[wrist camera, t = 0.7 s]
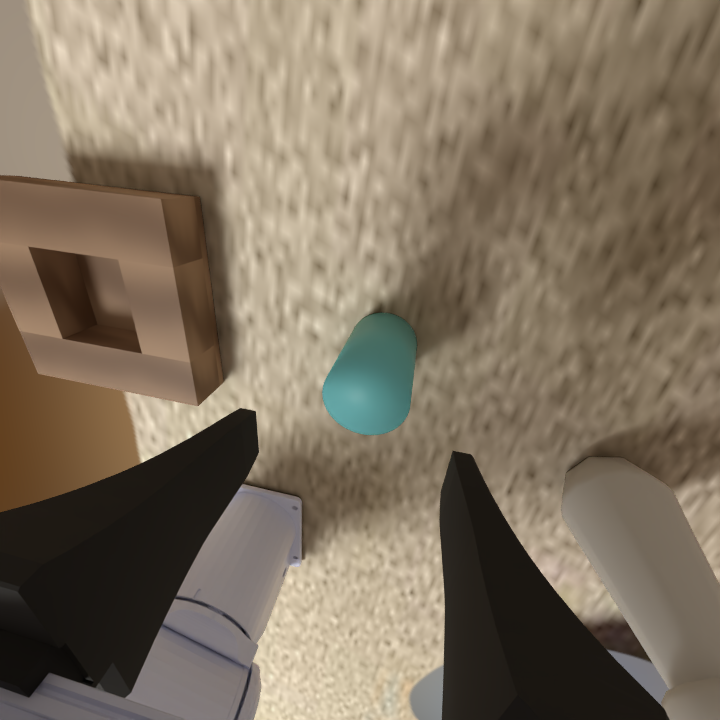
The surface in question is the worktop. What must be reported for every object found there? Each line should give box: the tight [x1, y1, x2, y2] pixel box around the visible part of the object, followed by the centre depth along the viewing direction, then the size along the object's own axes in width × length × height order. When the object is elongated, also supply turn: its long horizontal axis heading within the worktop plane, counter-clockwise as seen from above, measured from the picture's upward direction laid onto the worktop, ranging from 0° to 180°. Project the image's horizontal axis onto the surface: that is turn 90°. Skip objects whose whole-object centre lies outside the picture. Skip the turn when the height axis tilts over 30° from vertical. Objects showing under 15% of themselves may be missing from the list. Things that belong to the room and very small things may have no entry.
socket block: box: [0, 175, 224, 406], centre depth 21 cm, size 12×12×3 cm
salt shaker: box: [561, 457, 720, 720], centre depth 16 cm, size 6×6×13 cm
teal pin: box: [322, 313, 417, 435], centre depth 18 cm, size 4×4×6 cm
